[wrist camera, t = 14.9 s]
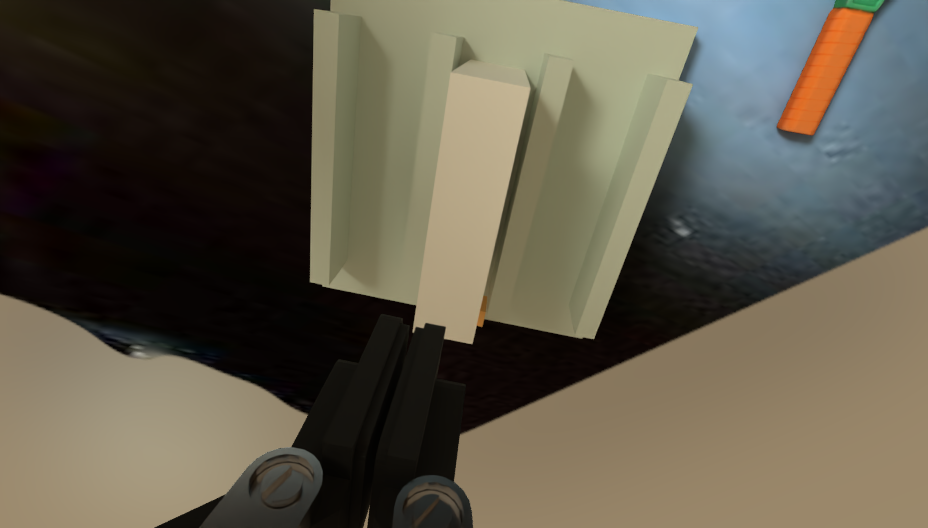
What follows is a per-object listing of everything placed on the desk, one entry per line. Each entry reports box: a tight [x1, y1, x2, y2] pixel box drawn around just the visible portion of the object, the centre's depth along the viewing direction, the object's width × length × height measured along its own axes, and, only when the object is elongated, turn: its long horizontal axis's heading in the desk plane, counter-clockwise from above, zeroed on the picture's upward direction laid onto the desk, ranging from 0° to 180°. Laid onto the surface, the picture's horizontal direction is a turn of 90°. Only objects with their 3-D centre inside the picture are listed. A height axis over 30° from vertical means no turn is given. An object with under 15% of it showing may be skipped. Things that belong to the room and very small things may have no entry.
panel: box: [413, 60, 530, 344], centre depth 23 cm, size 12×3×9 cm, turn 170°
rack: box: [310, 0, 698, 339], centre depth 26 cm, size 20×19×5 cm
